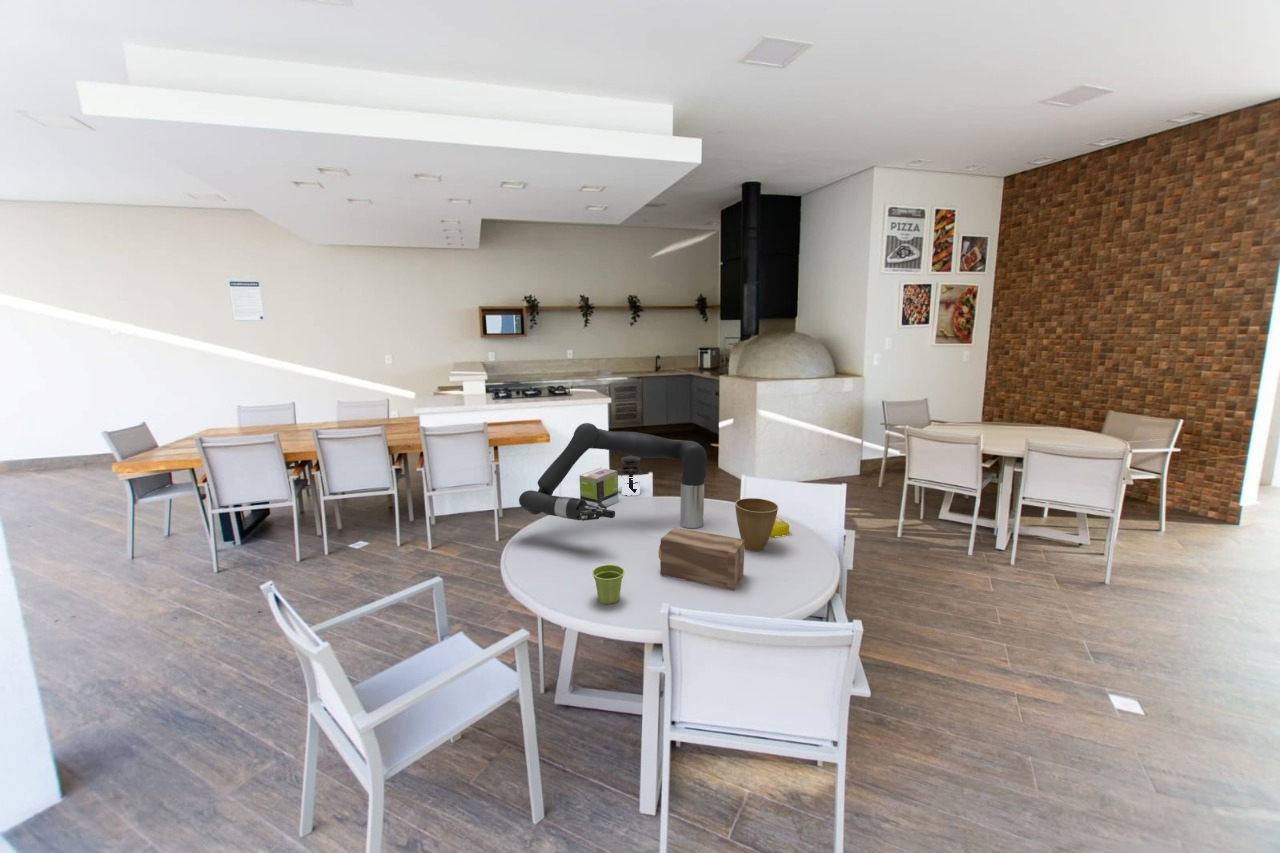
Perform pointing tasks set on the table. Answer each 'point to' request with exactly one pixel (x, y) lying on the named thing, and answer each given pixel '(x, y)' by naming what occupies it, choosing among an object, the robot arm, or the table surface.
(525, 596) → the table surface
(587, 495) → the tea box
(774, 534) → the element tile
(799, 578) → the table surface
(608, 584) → the plant pot
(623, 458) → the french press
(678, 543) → the box
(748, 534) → the plant pot
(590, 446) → the robot arm
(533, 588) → the table surface
